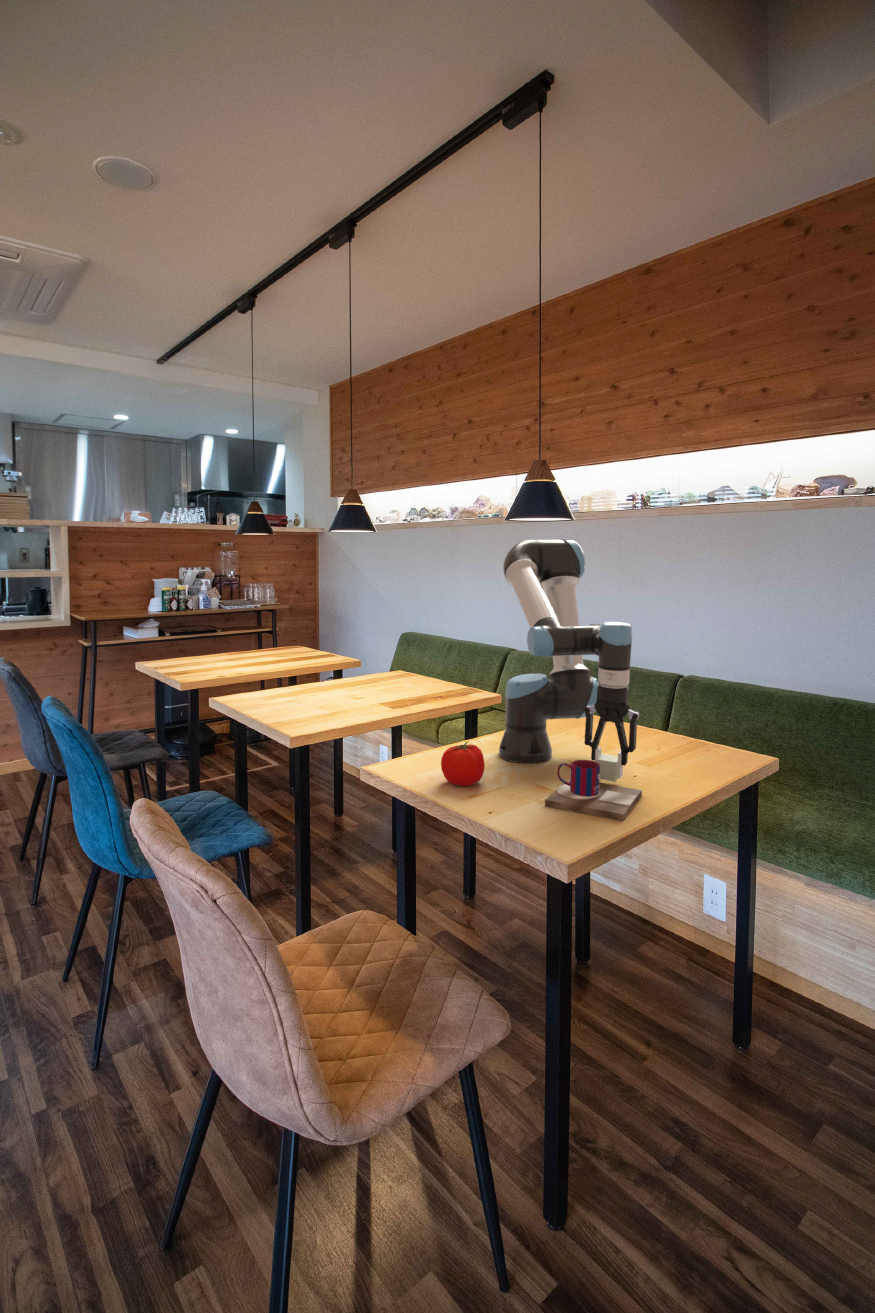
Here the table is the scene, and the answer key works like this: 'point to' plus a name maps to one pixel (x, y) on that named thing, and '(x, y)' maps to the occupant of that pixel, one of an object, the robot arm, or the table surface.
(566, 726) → the table surface
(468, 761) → the tomato
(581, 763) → the mug
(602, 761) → the pale sage green cube
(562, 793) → the board
